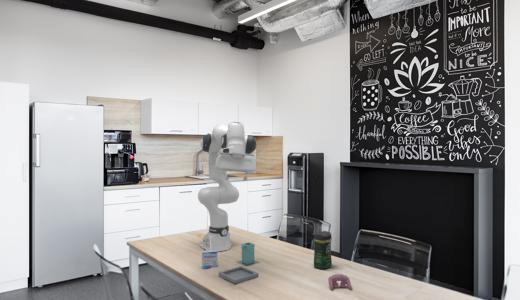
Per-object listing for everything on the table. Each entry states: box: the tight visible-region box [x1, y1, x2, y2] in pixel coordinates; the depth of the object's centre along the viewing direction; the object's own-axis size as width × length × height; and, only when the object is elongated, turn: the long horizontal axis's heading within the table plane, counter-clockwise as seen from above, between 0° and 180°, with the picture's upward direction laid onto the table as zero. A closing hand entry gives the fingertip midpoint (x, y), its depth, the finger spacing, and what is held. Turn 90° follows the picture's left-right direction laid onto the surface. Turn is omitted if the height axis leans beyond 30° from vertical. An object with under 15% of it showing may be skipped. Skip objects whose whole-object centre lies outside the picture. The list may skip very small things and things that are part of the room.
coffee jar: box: [313, 230, 333, 270], centre depth 189 cm, size 10×8×19 cm
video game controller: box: [327, 273, 352, 291], centre depth 161 cm, size 10×5×7 cm, turn 92°
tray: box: [218, 265, 259, 285], centre depth 177 cm, size 14×14×2 cm
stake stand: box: [236, 259, 262, 268], centre depth 197 cm, size 10×10×5 cm
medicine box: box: [201, 250, 218, 270], centre depth 192 cm, size 8×4×9 cm, turn 105°
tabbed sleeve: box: [240, 241, 256, 264], centre depth 196 cm, size 5×6×10 cm
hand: (236, 180), depth 173 cm, fingers open, 8 cm apart
